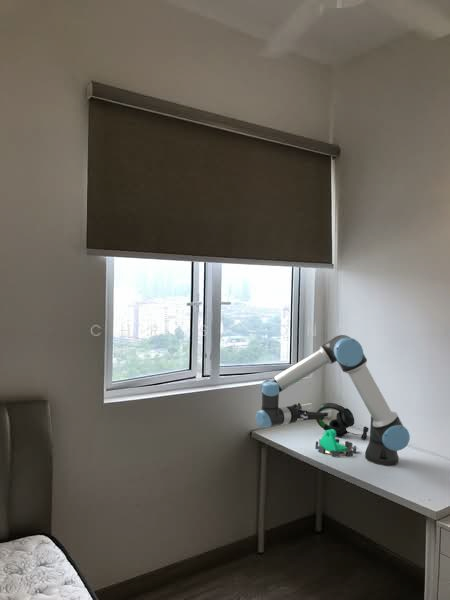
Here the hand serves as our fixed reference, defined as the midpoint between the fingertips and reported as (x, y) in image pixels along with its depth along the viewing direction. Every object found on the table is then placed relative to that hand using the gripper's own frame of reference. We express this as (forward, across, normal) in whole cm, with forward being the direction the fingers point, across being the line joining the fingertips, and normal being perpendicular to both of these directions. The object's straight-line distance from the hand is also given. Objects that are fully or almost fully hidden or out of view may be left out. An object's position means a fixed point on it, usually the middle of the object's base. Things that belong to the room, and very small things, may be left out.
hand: (321, 409), depth 230 cm
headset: (+29, -15, -22) cm, 39 cm away
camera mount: (+8, +1, -21) cm, 23 cm away
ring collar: (+10, 0, -21) cm, 24 cm away
